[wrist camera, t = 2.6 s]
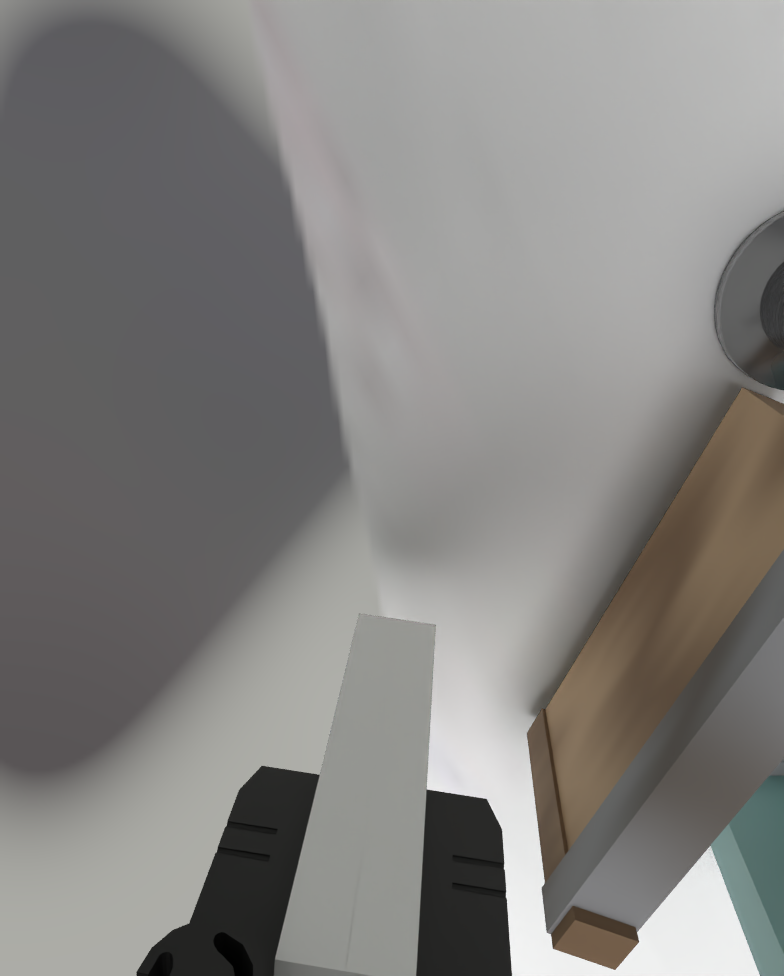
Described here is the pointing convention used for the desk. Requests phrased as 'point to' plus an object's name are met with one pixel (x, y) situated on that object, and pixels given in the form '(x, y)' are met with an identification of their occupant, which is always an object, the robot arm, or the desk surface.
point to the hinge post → (755, 305)
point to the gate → (669, 698)
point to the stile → (758, 871)
